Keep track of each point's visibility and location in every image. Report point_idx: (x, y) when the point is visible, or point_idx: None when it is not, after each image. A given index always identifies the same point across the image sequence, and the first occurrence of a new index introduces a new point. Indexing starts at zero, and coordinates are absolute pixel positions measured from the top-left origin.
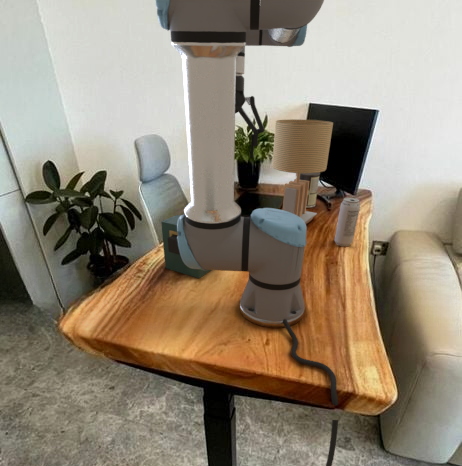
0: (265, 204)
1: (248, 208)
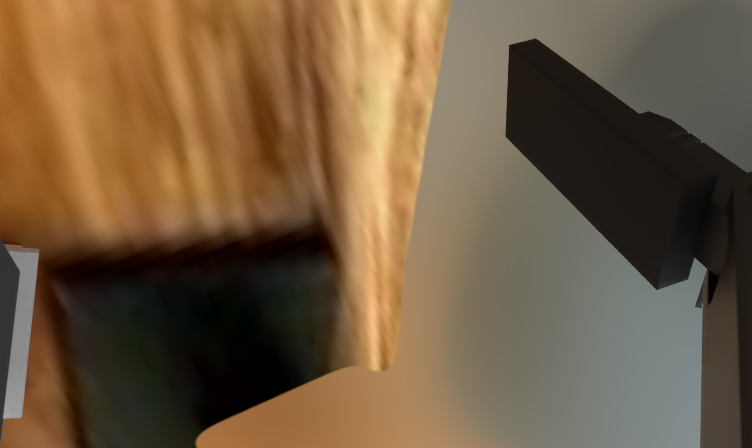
0: (175, 438)
1: (234, 363)
